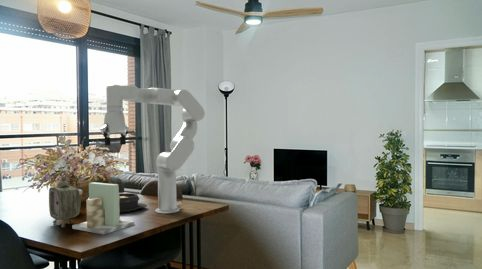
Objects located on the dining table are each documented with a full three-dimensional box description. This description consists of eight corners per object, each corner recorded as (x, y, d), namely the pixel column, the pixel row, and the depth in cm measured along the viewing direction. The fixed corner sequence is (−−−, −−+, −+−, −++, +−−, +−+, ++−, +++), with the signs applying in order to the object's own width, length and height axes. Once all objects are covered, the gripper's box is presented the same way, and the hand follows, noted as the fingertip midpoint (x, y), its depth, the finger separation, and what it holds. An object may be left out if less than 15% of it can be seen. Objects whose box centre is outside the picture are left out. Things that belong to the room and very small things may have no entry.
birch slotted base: (104, 219, 189) (103, 192, 188) (134, 224, 179) (134, 195, 178) (72, 228, 173) (71, 198, 173) (103, 234, 163) (102, 202, 163)
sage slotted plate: (94, 220, 181) (94, 182, 181) (119, 224, 173) (118, 184, 173) (89, 222, 178) (88, 183, 178) (114, 226, 171) (113, 185, 170)
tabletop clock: (49, 223, 182) (48, 170, 181) (69, 220, 188) (68, 169, 188) (60, 229, 172) (59, 173, 171) (81, 225, 178) (80, 171, 177)
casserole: (104, 217, 194) (103, 200, 194) (95, 211, 209) (94, 195, 209) (152, 211, 208) (151, 195, 208) (140, 205, 223) (140, 190, 223)
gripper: (122, 110, 200) (123, 144, 200) (95, 109, 185) (95, 145, 185) (133, 110, 196) (133, 144, 196) (106, 109, 181) (106, 146, 181)
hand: (115, 145), depth 191 cm, fingers open, 9 cm apart
